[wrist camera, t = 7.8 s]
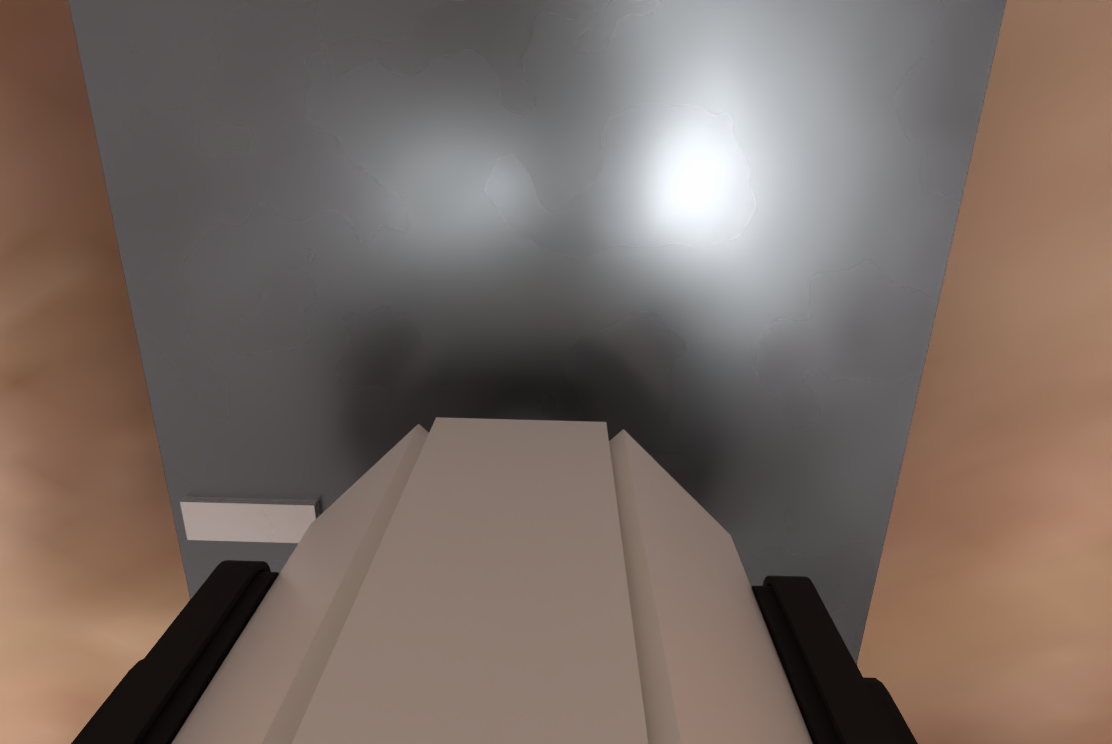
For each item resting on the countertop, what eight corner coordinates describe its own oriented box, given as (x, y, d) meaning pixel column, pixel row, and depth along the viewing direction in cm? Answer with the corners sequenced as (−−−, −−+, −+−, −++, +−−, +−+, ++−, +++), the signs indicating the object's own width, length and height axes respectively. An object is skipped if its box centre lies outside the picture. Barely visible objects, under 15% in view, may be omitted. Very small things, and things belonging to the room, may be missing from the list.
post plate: (123, -32, 11) (-712, -305, 4) (955, -14, 11) (1705, -260, 4) (268, 792, 17) (59, 1263, 10) (789, 808, 17) (946, 1296, 10)
